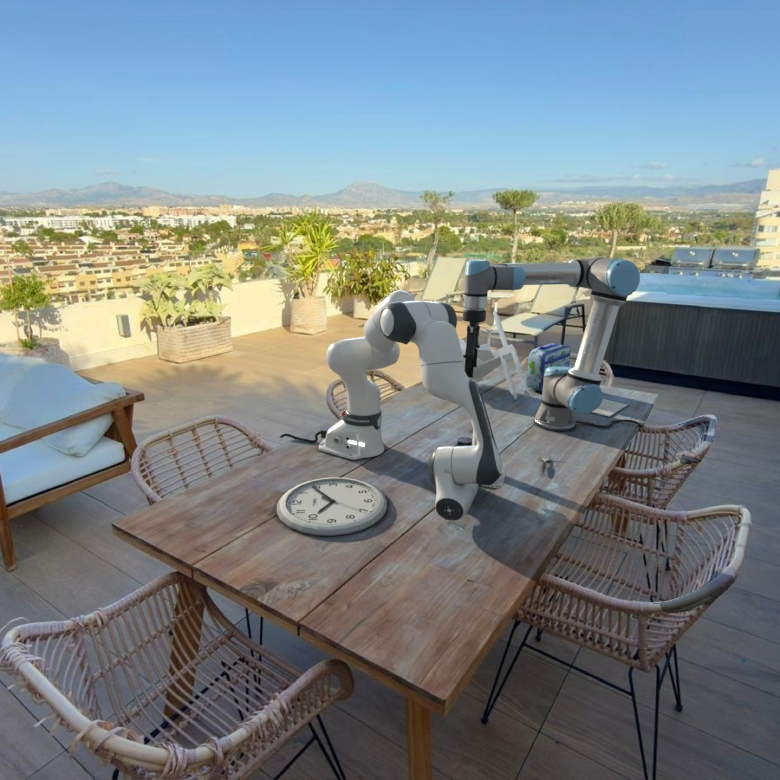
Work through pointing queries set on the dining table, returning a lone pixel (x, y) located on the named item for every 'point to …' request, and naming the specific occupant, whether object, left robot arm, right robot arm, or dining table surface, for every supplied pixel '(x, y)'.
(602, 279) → the right robot arm
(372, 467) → the dining table surface
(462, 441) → the lid
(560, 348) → the lunch box
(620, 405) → the invitation card
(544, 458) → the fork
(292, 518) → the wall clock
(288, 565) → the dining table surface
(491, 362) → the white plastic object
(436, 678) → the dining table surface
